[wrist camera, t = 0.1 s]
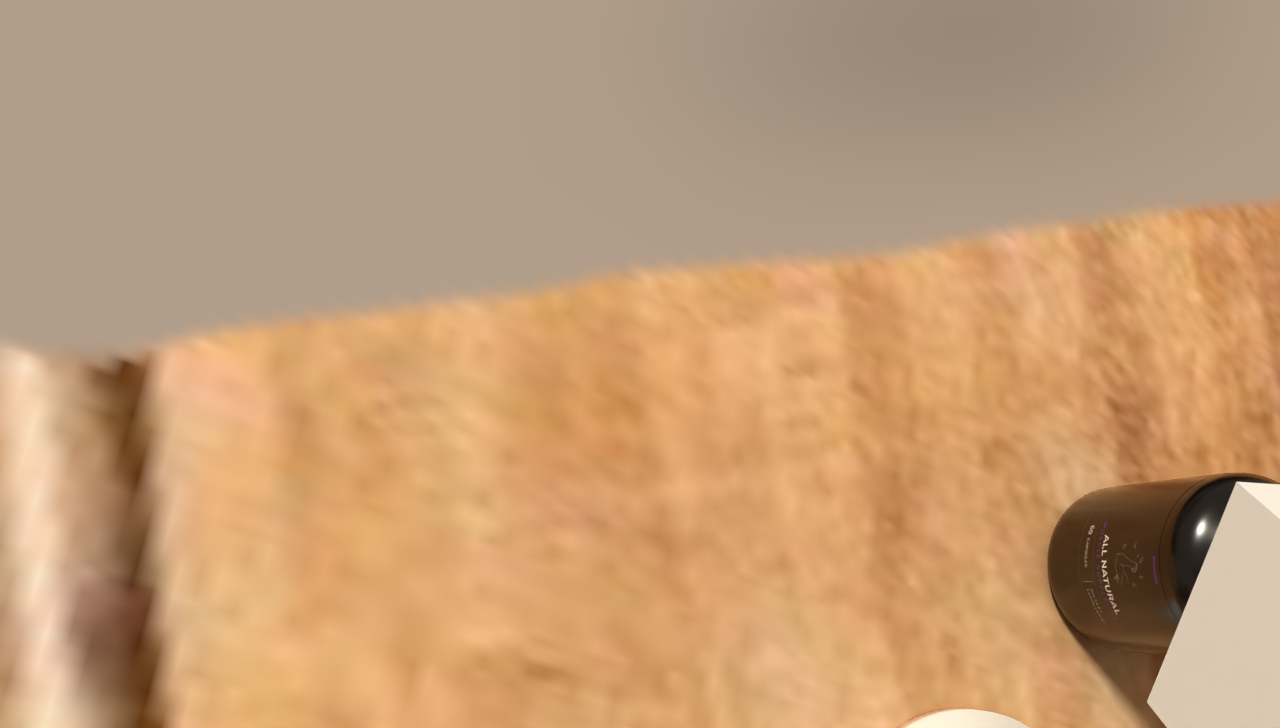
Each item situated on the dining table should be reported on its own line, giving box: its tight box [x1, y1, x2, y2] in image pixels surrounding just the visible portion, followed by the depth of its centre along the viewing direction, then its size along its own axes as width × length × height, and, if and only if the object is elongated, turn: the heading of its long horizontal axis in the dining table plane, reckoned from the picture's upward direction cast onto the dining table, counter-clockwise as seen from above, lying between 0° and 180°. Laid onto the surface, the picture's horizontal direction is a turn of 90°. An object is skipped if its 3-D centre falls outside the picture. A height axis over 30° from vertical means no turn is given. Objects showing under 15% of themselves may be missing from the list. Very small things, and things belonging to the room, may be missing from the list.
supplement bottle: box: [1047, 473, 1280, 655], centre depth 46 cm, size 7×7×12 cm
